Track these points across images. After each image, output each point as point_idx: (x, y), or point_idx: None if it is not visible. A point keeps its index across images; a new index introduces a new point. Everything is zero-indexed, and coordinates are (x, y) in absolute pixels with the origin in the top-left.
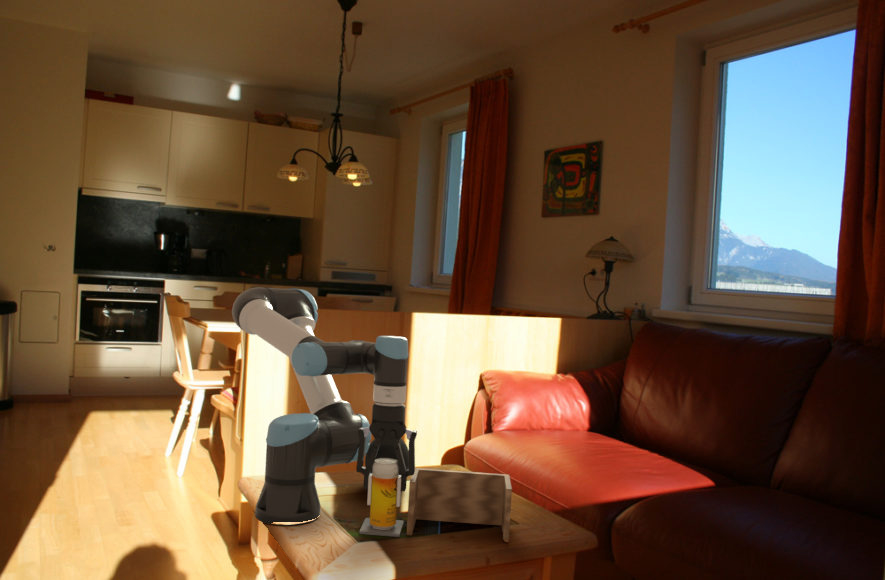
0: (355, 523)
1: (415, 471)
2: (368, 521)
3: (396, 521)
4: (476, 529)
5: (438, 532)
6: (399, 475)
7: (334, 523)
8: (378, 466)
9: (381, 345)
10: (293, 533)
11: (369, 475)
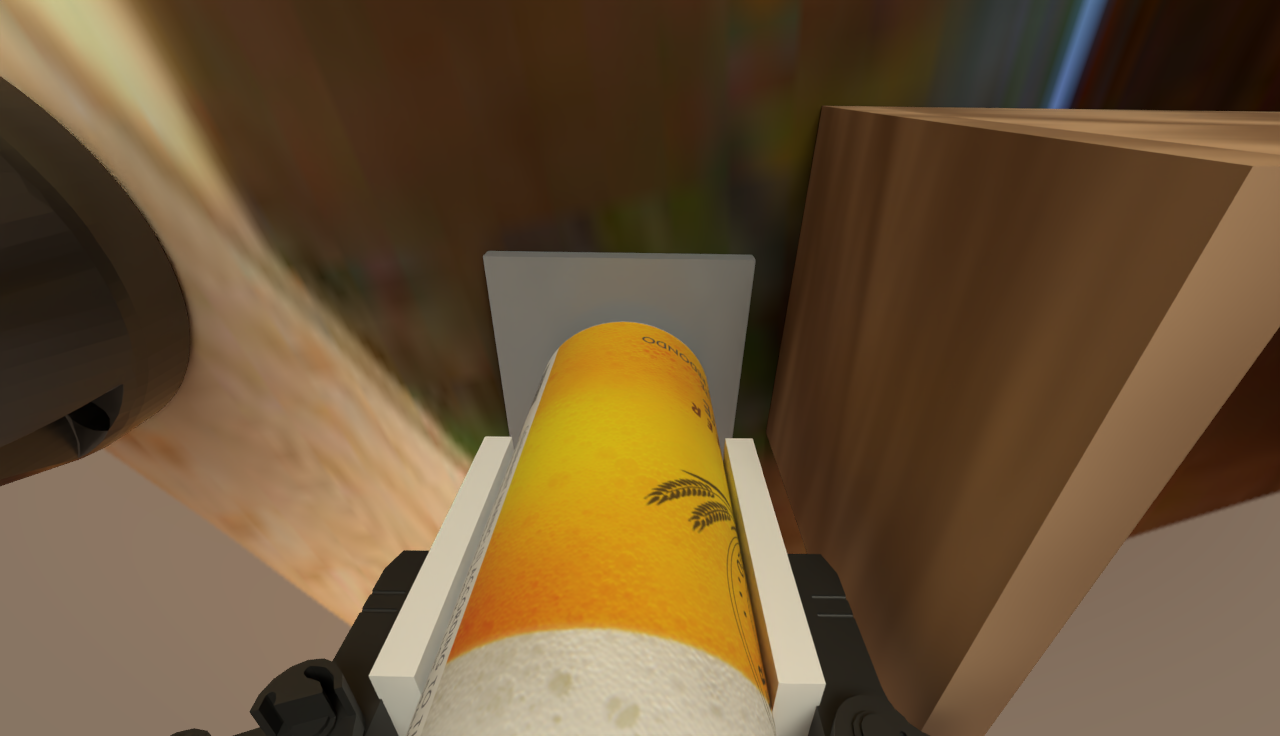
0: (444, 317)
1: (1136, 447)
2: (521, 323)
3: (706, 288)
4: None
5: None
6: (787, 694)
7: (323, 340)
8: None
9: None
10: (214, 494)
11: (399, 733)
